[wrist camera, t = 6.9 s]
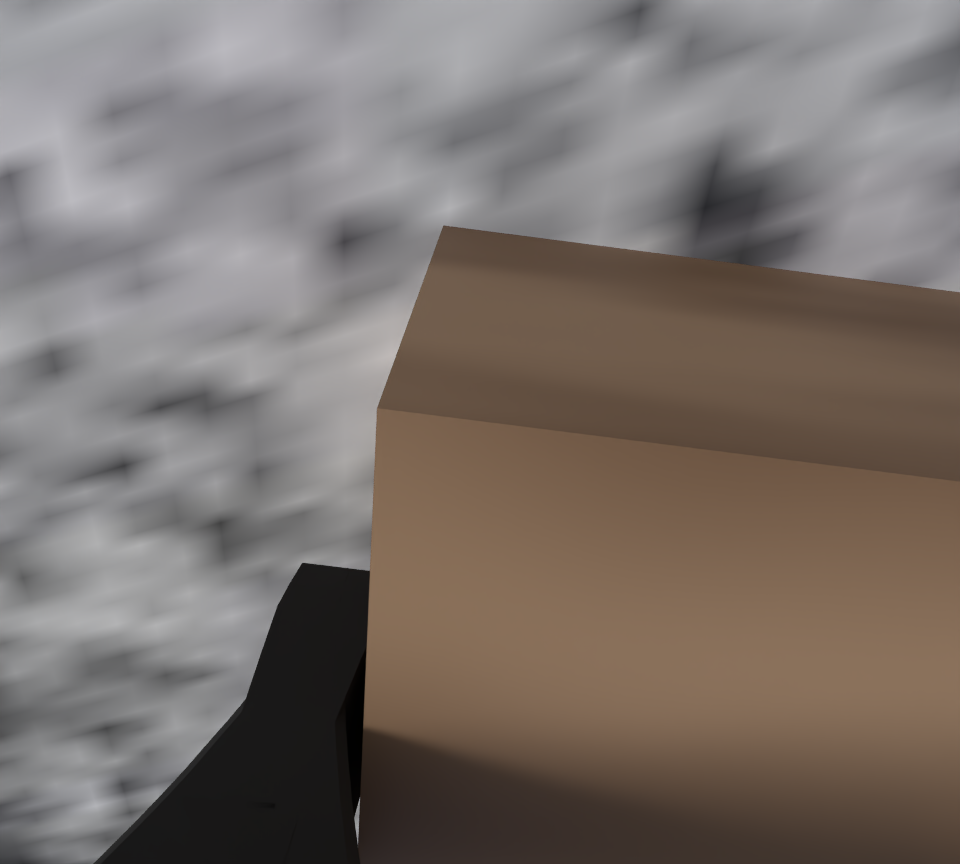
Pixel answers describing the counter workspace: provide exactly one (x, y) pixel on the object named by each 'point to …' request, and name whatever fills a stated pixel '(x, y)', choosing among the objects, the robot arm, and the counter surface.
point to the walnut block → (663, 565)
